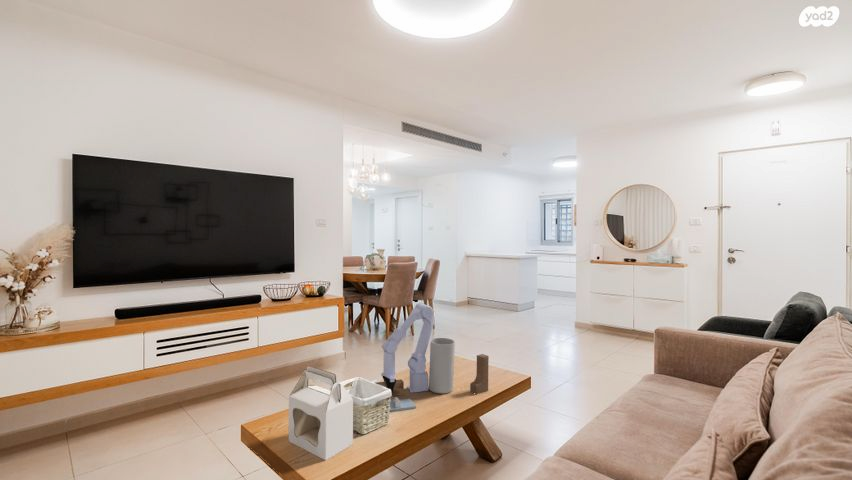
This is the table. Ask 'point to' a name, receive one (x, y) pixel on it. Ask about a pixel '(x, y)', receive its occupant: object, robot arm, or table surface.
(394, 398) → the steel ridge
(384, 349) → the robot arm
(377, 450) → the table surface
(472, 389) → the wooden block
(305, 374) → the gable box
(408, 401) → the blue-grey flat rectangular panel
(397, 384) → the walnut plank
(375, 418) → the storage basket
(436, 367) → the cylinder vase
